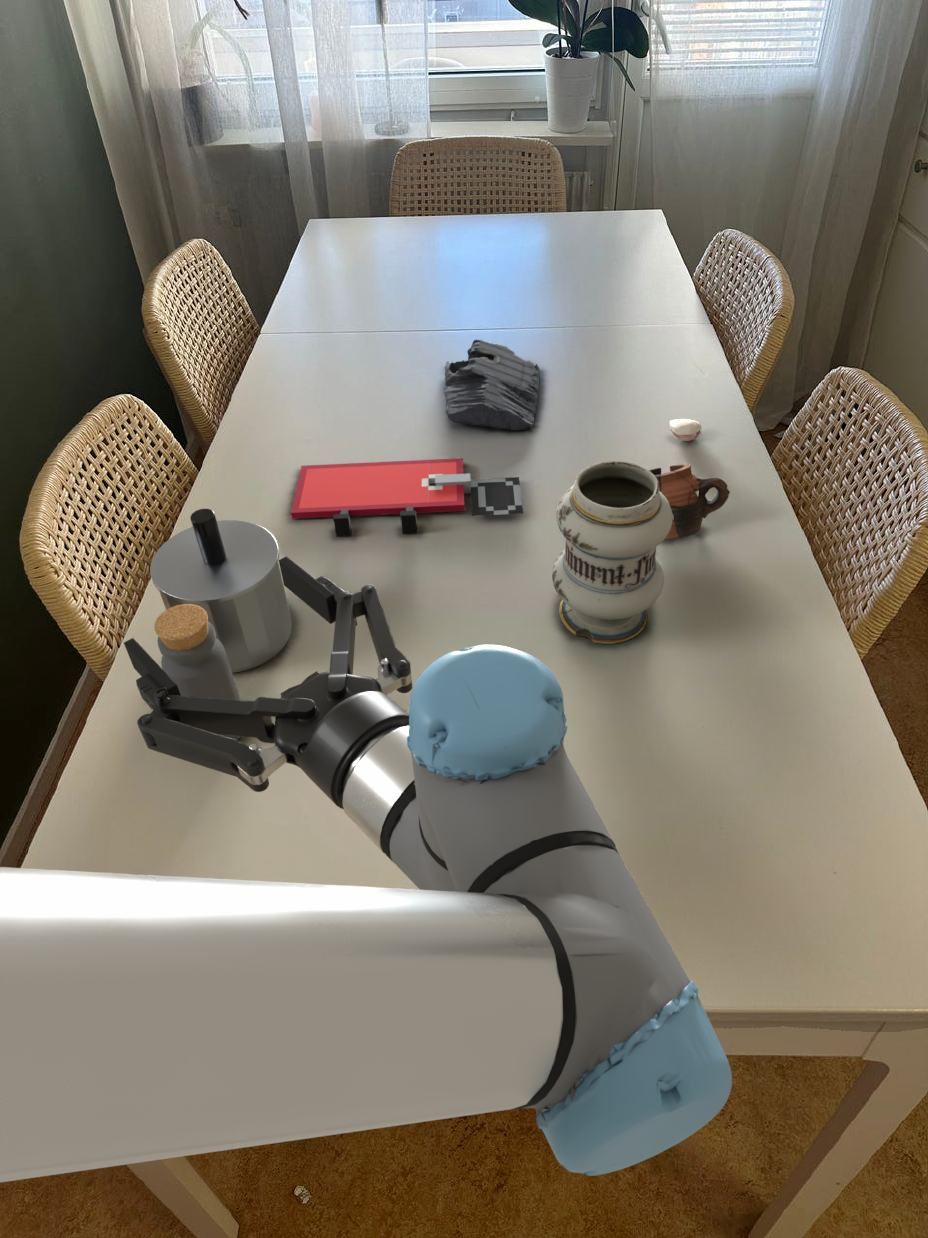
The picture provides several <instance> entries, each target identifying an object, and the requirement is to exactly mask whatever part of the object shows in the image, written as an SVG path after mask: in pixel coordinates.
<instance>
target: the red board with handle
mask: <svg viewBox="0 0 928 1238" xmlns="http://www.w3.org/2000/svg"><path fill="white" fill-rule="evenodd" d="M520 482H521V481H520V476H513V477H491V478H489V477H488V478H471V473H464V457H458V458H457V457H456V458H437V459H436V458H435V459H416V460H415V459H414V460H393V461H375V462H373V461H371V462H349V463H331V464H330V463H327V464H311V465H310V464H309V465H301V466H300V470H299V475H298V480H297V483H296V489H295V493H294V497H293V501H292V506H291V510H290V516H291V519H293V520H295V519H316V518H317V519H318V518H332V519H333V524H334V530H335V535H336V537H337V538H340V537H342V538H343V537H352V533H353V531H352V524H351V518H350V517H358V516H360V517H361V516H382V515H400V523H401V533H402V534H403V535H405V534H407V535H408V534H418V519H417V514H422V513H423V514H424V513H427V514H428V513H445V512H447V513H448V512H464V511H466V509H465V494H470V500H471V501H470V502H471V504H470V505H471V516H472V517H479V516H497V515H498V516H501V515H520V514H521V515H522V514H524V508H523V501H522V500H523V499H522V490H521V483H520Z"/></svg>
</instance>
